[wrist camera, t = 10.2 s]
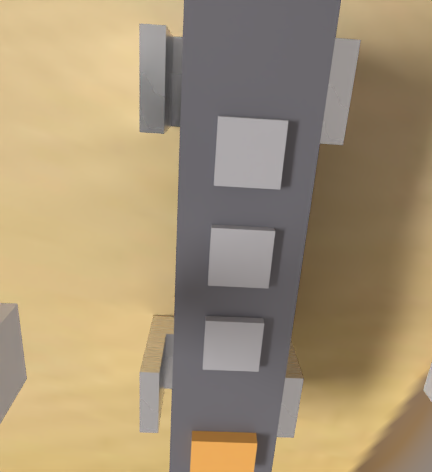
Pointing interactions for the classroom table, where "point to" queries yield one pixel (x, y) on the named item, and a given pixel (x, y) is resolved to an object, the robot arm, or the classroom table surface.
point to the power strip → (243, 219)
